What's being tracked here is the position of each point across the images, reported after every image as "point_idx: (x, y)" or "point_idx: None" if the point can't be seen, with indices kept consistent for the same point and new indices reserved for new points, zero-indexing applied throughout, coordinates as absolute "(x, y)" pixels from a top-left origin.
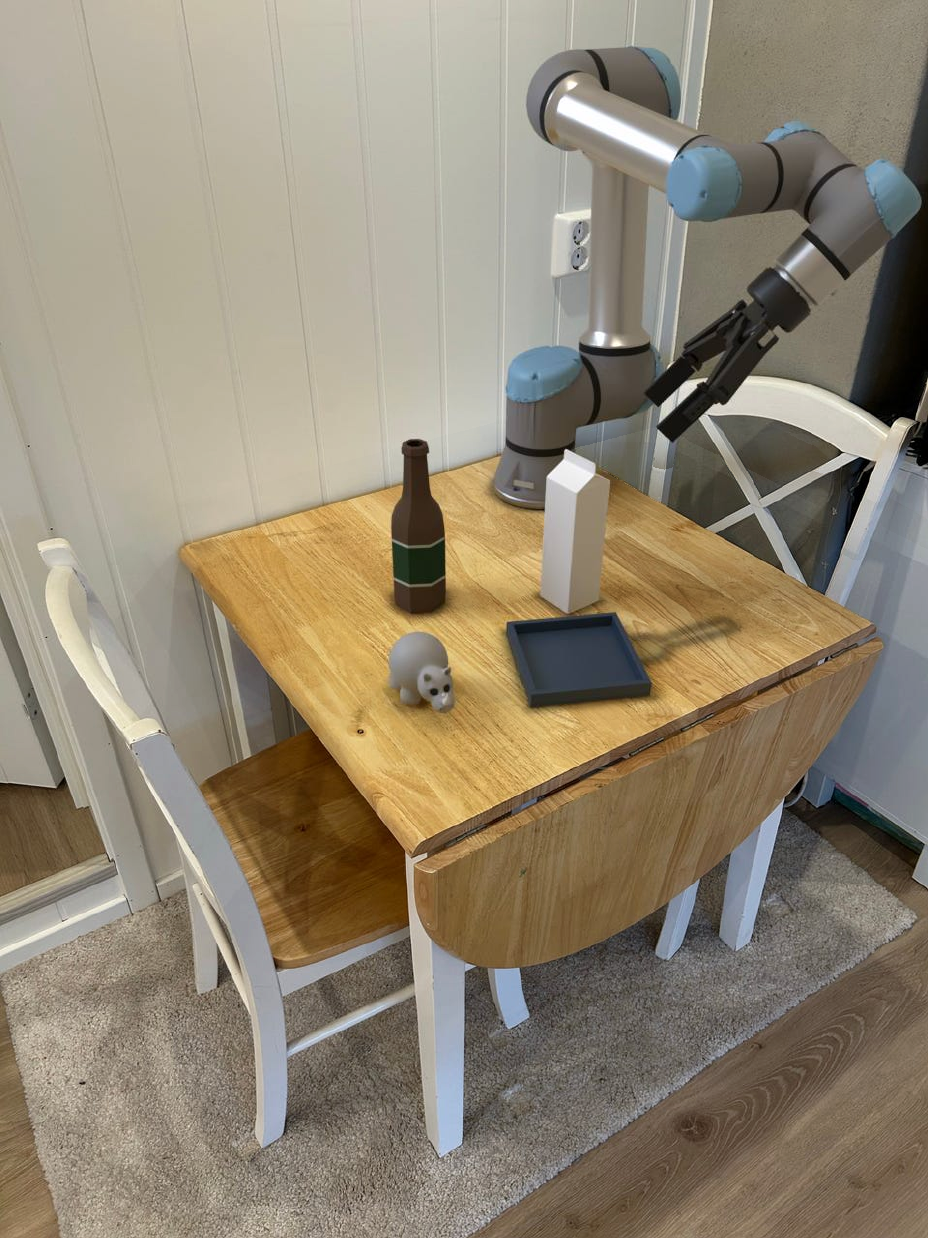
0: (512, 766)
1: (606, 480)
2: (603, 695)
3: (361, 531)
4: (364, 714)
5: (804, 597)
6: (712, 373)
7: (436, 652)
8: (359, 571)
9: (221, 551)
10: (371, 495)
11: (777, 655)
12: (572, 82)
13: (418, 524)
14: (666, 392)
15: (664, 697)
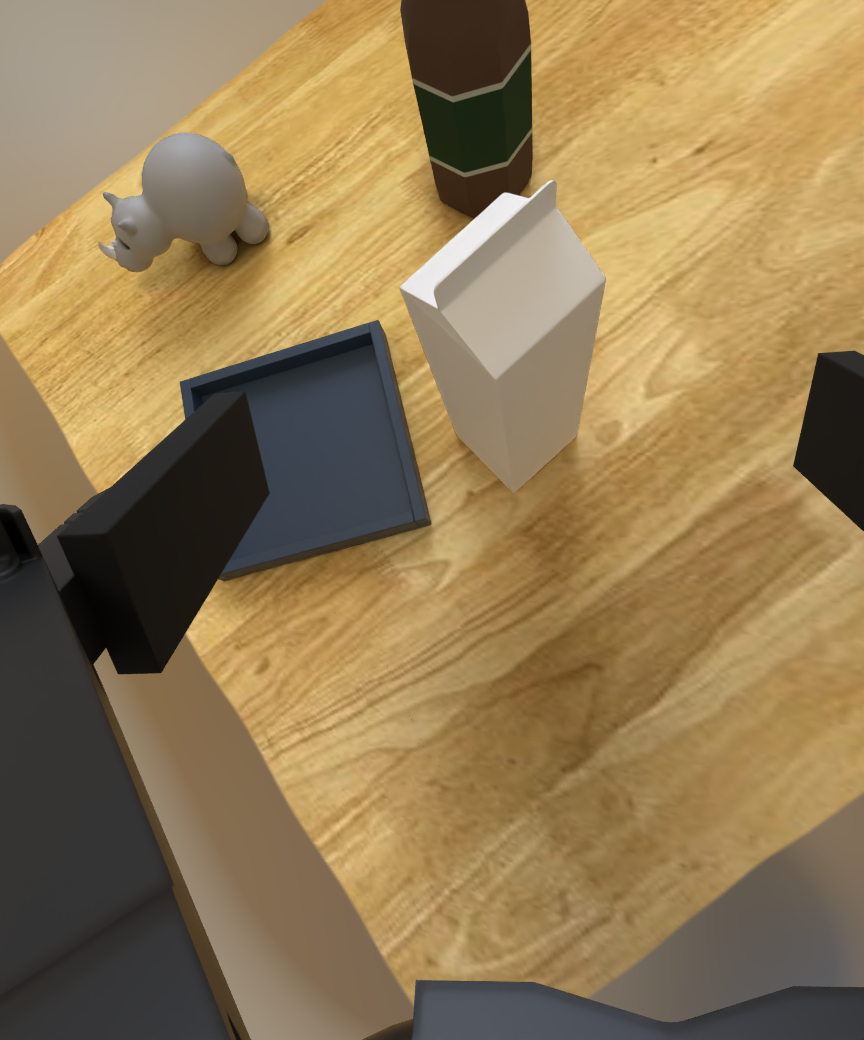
0: (78, 380)
1: (482, 364)
2: None
3: (729, 12)
4: None
5: (584, 981)
6: (31, 642)
7: (158, 197)
8: (568, 56)
9: None
10: None
11: (348, 848)
12: None
13: (406, 9)
14: (844, 477)
15: (221, 605)
